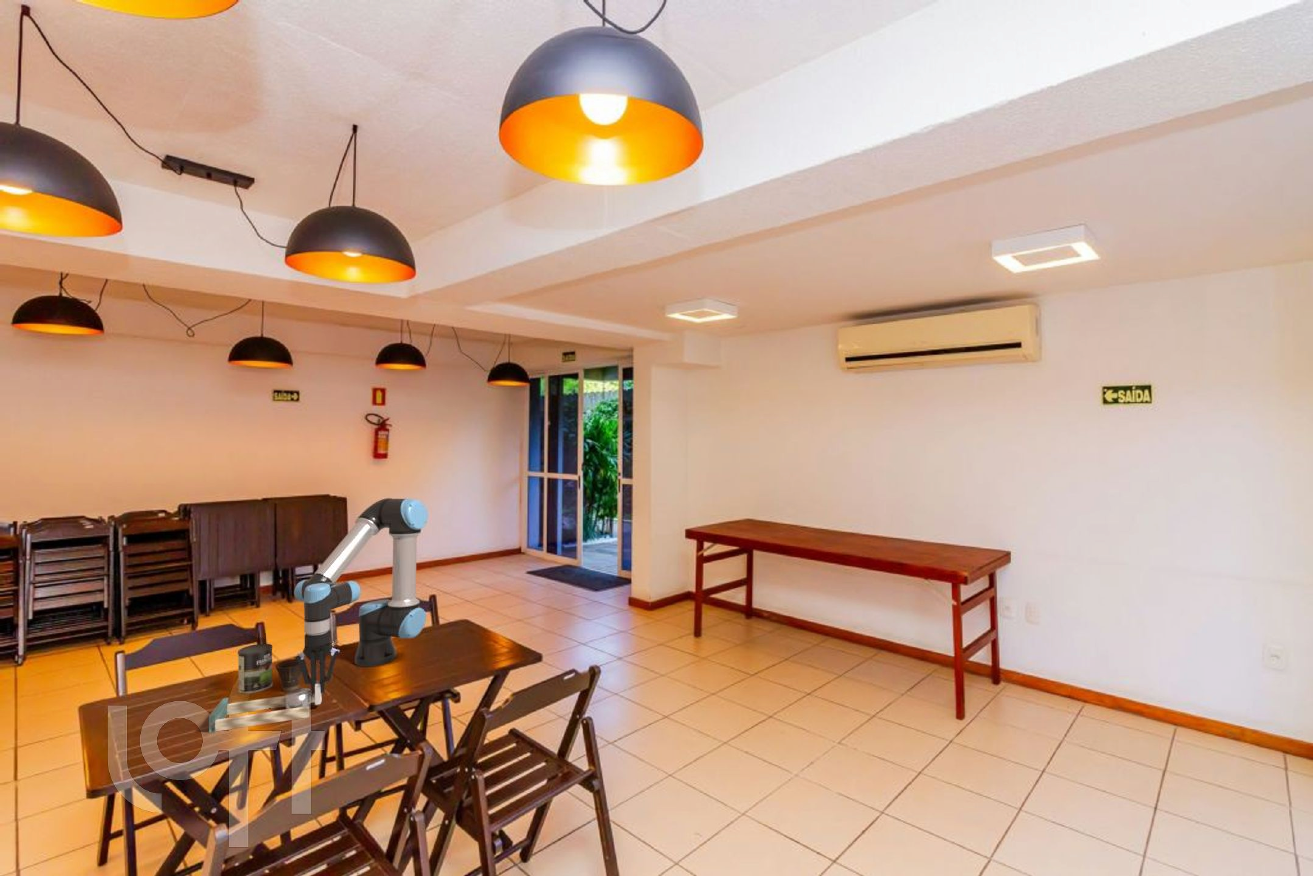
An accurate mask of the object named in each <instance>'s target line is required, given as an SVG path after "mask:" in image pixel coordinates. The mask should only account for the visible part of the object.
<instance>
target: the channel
mask: <svg viewBox="0 0 1313 876" xmlns="http://www.w3.org/2000/svg"><path fill="white" fill-rule="evenodd" d="M311 703H315V694H312V693H311ZM284 707H285V709H280V710H273V711H266V712H257V713H252V712H256V711H263V710H270V709H269V708H271V709H278V708H284ZM250 712H251V713H252V714H245V715H240V716H239V715H237V716H232V717H227V716H228V715H235V714H241V713H242V714H243V713H250ZM307 718H310V710H309V706H306V707H299V708H292V709H286V695H282V696H275V697H273V696H272V697H268V698H266V697H265V698H260V699H252V700H246V701H238V702H232V703H229V697H224V698H222V699H221V700H220V702H219V703H218V704H217V705H216V707H215V708H214V709H213V710H212V712H211V713H210V714H209V716H208V728H209V729H208V732H209V733H215V732H221V731H227V730H228V731H229V730H234V729H240V728H248V727H255V726H260V725H269V724H273V723H279V722H286V721H292V720H298V719H299V720H300V719H307Z"/></svg>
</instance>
